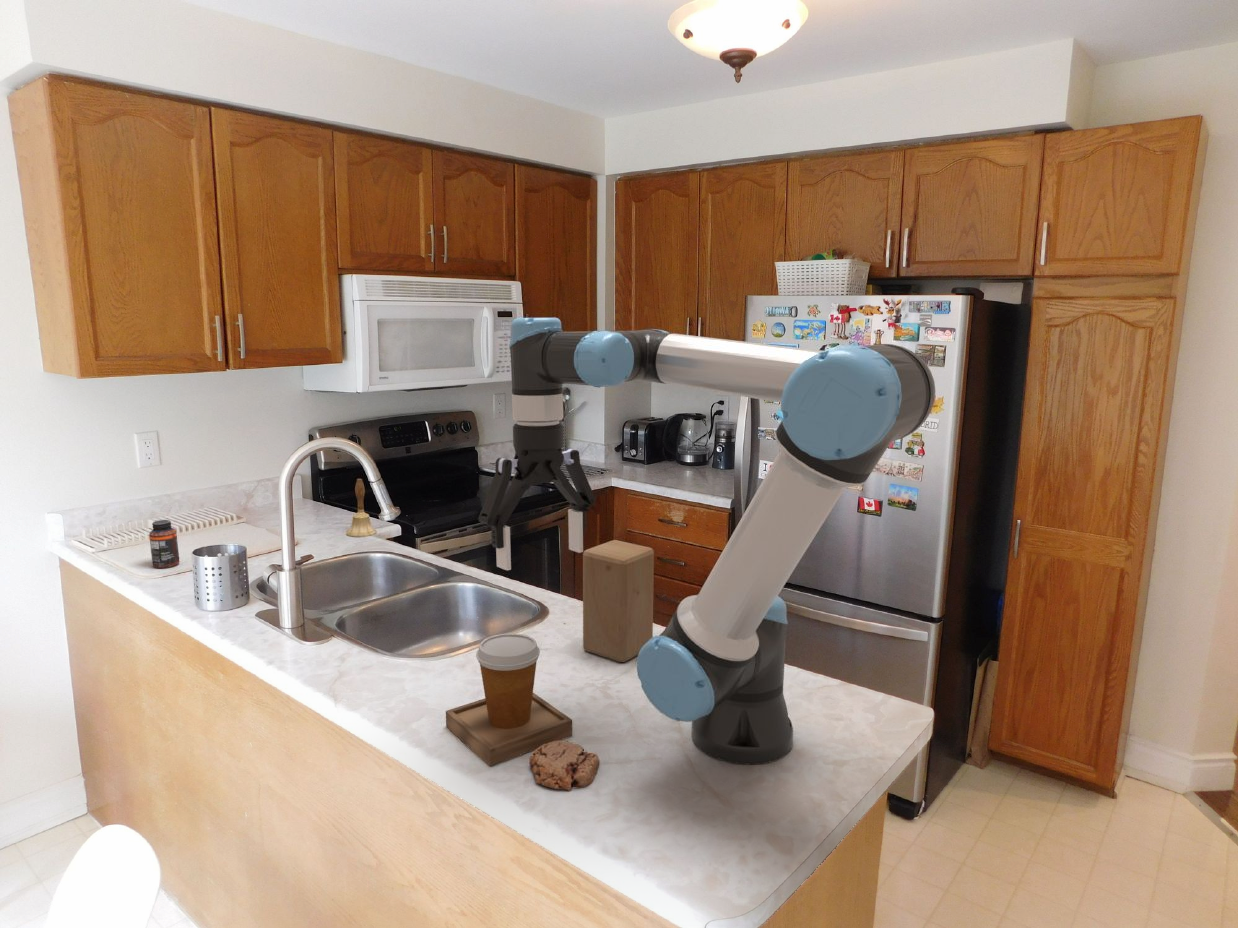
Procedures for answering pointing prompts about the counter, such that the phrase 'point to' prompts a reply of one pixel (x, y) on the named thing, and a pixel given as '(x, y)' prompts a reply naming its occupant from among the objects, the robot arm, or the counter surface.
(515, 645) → the disposable coffee cup
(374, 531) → the hand bell
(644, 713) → the counter surface
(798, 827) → the counter surface
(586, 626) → the wooden block
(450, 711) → the wooden tray
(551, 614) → the counter surface
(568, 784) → the cookie
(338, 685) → the counter surface
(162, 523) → the supplement bottle
